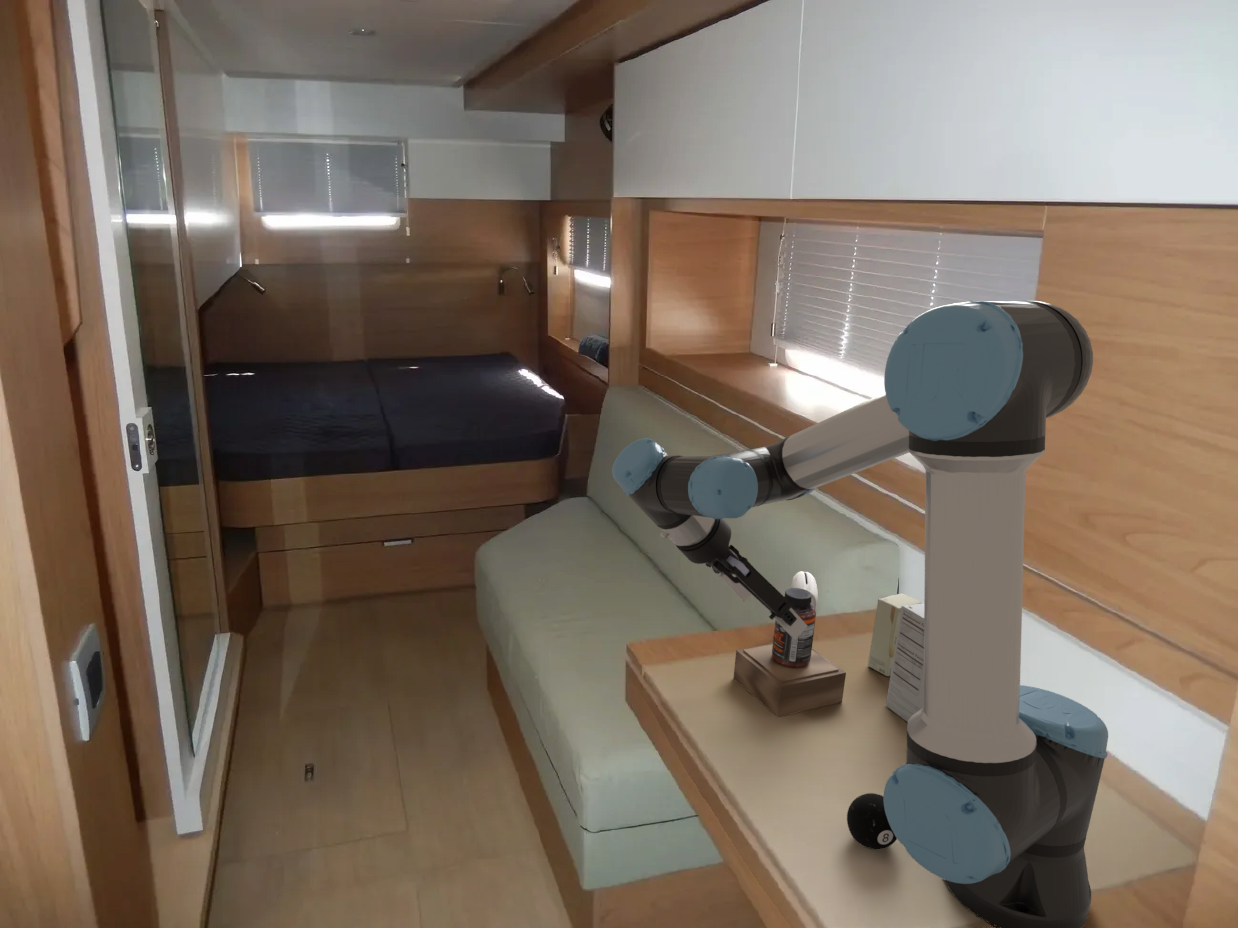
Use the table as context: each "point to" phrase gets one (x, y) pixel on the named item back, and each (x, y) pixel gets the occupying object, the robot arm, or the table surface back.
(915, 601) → the skincare box
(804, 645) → the supplement bottle
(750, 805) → the table surface
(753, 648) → the wooden box
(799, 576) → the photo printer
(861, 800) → the billiard ball
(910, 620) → the supplement box
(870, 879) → the table surface
